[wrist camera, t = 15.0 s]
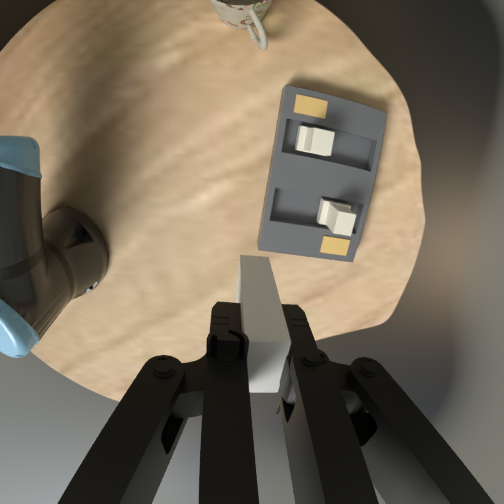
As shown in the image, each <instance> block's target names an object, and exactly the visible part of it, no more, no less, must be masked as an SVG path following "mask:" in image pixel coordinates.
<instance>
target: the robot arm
mask: <svg viewBox="0 0 504 504" xmlns="http://www.w3.org/2000/svg"><path fill="white" fill-rule="evenodd" d="M41 178H42V174H41V173H40V148H39V145H38V143H37V141H36V140H35V139H33V138H31V137H25V136H0V351H1V352H2V353H4V354H6V355H8V356H11V357H15V358H19V357H23V356H25V355H26V354H27V353H28V352H29V351H30V350H31V349H32V347H33V346H34V345H35V344H37V343H39V341H40V339H41V338H42V336H43V335H44V333H45V332H46V331H47V329H48V328H49V327H50V326H51V324H52V323H53V322H54V320H55V319H56V318H57V316H58V315H59V314H60V313H61V311H62V310H63V309H64V308H65V306H66V305H67V304H68V303H69V302H70V300H73V299H75V298H77V297H79V296H82V295H84V294H87V293H89V292H90V291H92V290H93V289H94V288H95V287H96V286H97V285H98V284H99V283H100V282H101V281H102V279H103V278H104V276H105V274H106V271H107V266H108V253H107V248H106V244H105V241H104V239H103V236H102V234H101V232H100V231H99V229H98V227H97V226H96V225H95V224H94V222H93V221H92V220H91V219H90V218H89V217H88V216H86V215H85V214H84V213H82V212H80V211H78V210H76V209H73V208H59V209H57V210H55V211H53V212H51V213H49V214H47V215H46V216H45V217H44V218H43V219H42V214H41ZM279 385H280V387H281V397H280V400H279V403H278V406H277V409H276V414H279V412H280V411H281V416H282V423H283V429H284V435H285V442H286V448H287V454H288V460H289V467H290V473H291V479H292V485H293V492H294V498H295V504H379V503H378V500H377V496H376V494H375V490H374V487H373V484H374V485H375V487H376V489H377V490H378V492H379V493H380V495H381V497H382V498H383V500H384V501H385V503H386V504H494V502H493V501H492V500H491V498H490V497H489V496H488V494H487V493H486V492H485V491H484V489H483V488H482V487H481V485H480V484H479V483H478V482H477V480H476V479H475V478H474V476H473V475H472V474H471V472H470V471H469V470H468V469H467V467H466V466H465V465H464V464H463V462H462V461H461V460H460V459H459V457H457V455H456V454H455V452H454V451H453V450H452V449H451V447H450V446H449V445H448V444H447V442H446V441H445V440H444V439H443V438H442V436H441V435H440V434H439V433H438V431H437V430H436V429H435V428H434V427H433V425H432V424H431V423H430V422H429V420H428V419H427V418H426V417H425V416H424V415H423V414H422V412H421V411H420V410H419V408H418V407H417V406H416V405H415V404H414V403H413V401H412V400H411V399H410V398H409V397H408V395H407V394H406V393H405V392H404V391H403V390H402V388H401V387H400V386H399V385H398V384H397V383H396V381H395V380H394V379H393V378H392V377H391V376H390V374H389V373H388V372H387V371H386V370H385V369H384V367H383V366H382V365H381V364H380V363H378V362H377V361H376V360H373V359H371V358H366V357H361V358H357V359H355V360H354V361H353V362H352V364H351V366H350V365H344V364H339V363H335V362H332V361H329V358H328V356H327V355H326V354H325V353H324V352H323V351H321V350H319V349H318V348H317V345H316V342H315V340H314V337H313V334H312V331H311V329H310V327H309V323H308V321H307V318H306V315H305V312H304V311H303V310H302V309H301V308H300V307H299V306H298V305H290V304H281V302H280V298H279V294H278V290H277V287H276V283H275V279H274V275H273V272H272V268H271V264H270V261H269V257H261V256H247V255H240V259H239V270H238V280H237V291H236V303H231V302H217V303H216V304H215V305H214V306H213V308H212V313H211V324H210V333H209V335H208V337H207V353H206V354H205V355H204V356H203V357H202V358H200V359H198V360H196V361H193V362H188V363H181V362H180V361H179V360H178V359H176V358H174V357H172V356H167V355H160V356H155V357H153V358H151V359H149V360H148V361H147V362H146V363H145V364H144V366H143V367H142V369H141V370H140V372H139V373H138V375H137V376H136V378H135V379H134V381H133V383H132V384H131V386H130V387H129V389H128V390H127V392H126V393H125V395H124V396H123V398H122V399H121V401H120V403H119V404H118V406H117V407H116V409H115V411H114V412H113V413H112V415H111V417H110V418H109V420H108V421H107V423H106V424H105V426H104V428H103V429H102V431H101V433H100V434H99V436H98V437H97V439H96V441H95V442H94V444H93V445H92V447H91V448H90V450H89V452H88V453H87V455H86V457H85V458H84V460H83V462H82V463H81V465H80V467H79V468H78V470H77V472H76V473H75V475H74V477H73V478H72V480H71V482H70V483H69V485H68V487H67V489H66V490H65V492H64V493H63V495H62V497H61V499H60V500H59V502H58V504H152V502H153V499H154V497H155V495H156V492H157V490H158V488H159V485H160V483H161V481H162V478H163V476H164V474H165V471H166V469H167V467H168V464H169V462H170V460H171V457H172V455H173V453H174V450H175V448H176V446H177V443H178V441H179V439H180V436H181V434H182V431H183V429H184V427H185V424H186V422H187V420H188V418H189V417H195V416H199V415H202V429H201V430H202V431H201V450H200V475H199V504H259V497H258V486H257V476H256V465H255V454H254V442H253V430H252V418H251V406H250V393H249V392H278V389H279ZM372 483H373V484H372Z"/></svg>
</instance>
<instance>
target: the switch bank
mask: <svg viewBox="0 0 504 504" xmlns="http://www.w3.org/2000/svg"><path fill="white" fill-rule="evenodd" d="M386 116H387V113H386V112H383V111H380V110H378V109H375V108H372V107H369V106H366V105H363V104H359V103H356V102H353V101H350V100H346V99H343V98H339V97H335V96H332V95H328V94H324V93H320V92H316V91H311V90H307V89H303V88H298V87H293V86H288V85H285V86H284V88H283V89H282V95H281V101H280V107H279V113H278V120H277V126H276V132H275V138H274V144H273V150H272V156H271V163H270V169H269V175H268V181H267V187H266V193H265V199H264V205H263V211H262V217H261V223H260V229H259V235H258V241H257V243H258V250H261V251H269V252H276V253H284V254H292V255H300V256H307V257H315V258H323V259H330V260H338V261H346V262H353V260H354V257H355V254H356V250H357V247H358V244H359V240H360V236H361V233H362V229H363V226H364V222H365V218H366V214H367V210H368V206H369V202H370V198H371V194H372V189H373V185H374V181H375V176H376V171H377V167H378V162H379V157H380V151H381V146H382V140H383V135H384V129H385V122H386ZM298 126H305V127H309V128H318V129H323V130H327V131H331V132H335V134H334V140H333V145H332V151H331V156H328V155H327V156H323V155H318V154H313V153H308V152H303V151H298V150H295V144H296V138H297V132H298ZM321 198H323V199H328V200H333V201H338V202H343V203H348V204H349V205H351V209H350V210H351V211H352V212H354V213H355V214H356V218H355V222H354V226H353V230H352V234H351V236H347V235H341V234H334V233H333V232H332V231H331V230H330V229H329V228H328V226H327V225H324V224H319V223H318V222H317V221H316V219H317V214H318V210H319V205H320V201H321Z"/></svg>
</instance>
